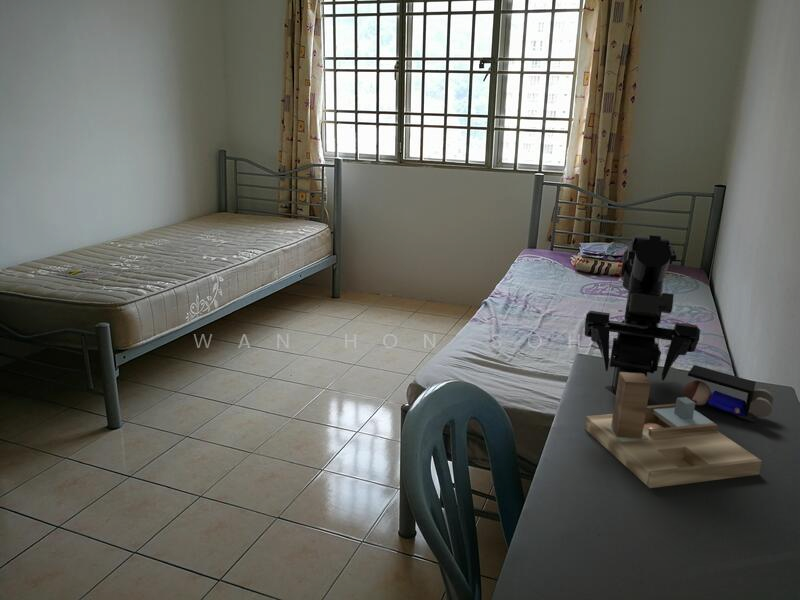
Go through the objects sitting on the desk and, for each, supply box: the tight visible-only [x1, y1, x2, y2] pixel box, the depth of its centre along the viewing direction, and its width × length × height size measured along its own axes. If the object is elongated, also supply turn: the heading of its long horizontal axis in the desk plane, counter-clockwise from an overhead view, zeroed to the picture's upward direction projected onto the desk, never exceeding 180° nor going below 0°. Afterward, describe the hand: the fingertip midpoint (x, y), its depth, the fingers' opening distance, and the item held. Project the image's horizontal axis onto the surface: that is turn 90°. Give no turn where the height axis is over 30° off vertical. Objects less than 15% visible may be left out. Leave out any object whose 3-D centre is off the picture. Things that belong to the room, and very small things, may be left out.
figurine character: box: [683, 364, 774, 423], centre depth 124 cm, size 7×8×15 cm
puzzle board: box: [584, 403, 762, 489], centre depth 108 cm, size 19×20×4 cm
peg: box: [611, 372, 652, 439], centre depth 107 cm, size 4×4×10 cm
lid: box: [653, 396, 715, 427], centre depth 113 cm, size 7×8×4 cm
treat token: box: [644, 423, 664, 430], centre depth 113 cm, size 4×4×1 cm
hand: (634, 375), depth 110 cm, fingers open, 9 cm apart
